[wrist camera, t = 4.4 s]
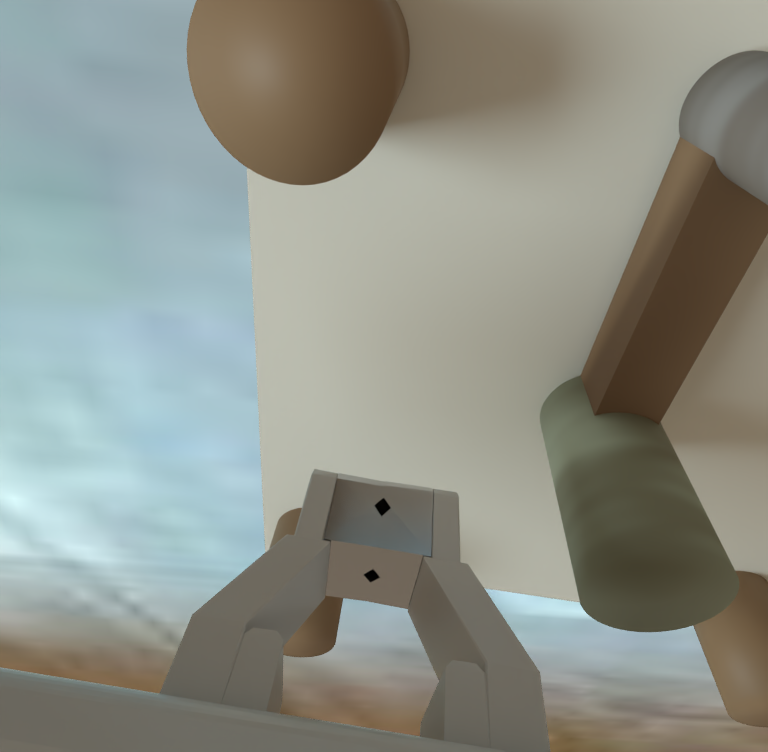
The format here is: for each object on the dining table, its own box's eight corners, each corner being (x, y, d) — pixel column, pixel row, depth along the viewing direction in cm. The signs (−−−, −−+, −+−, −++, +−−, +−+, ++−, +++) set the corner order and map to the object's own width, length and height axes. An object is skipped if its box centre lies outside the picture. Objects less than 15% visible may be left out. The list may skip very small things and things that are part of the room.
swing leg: (842, 61, 10) (1186, 121, 5) (625, 458, 16) (695, 640, 11) (681, 40, 10) (883, 79, 5) (527, 444, 16) (560, 620, 11)
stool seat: (1218, 28, 11) (1910, 57, 6) (732, 574, 23) (815, 742, 18) (271, -99, 11) (121, -178, 6) (281, 507, 23) (234, 654, 18)
